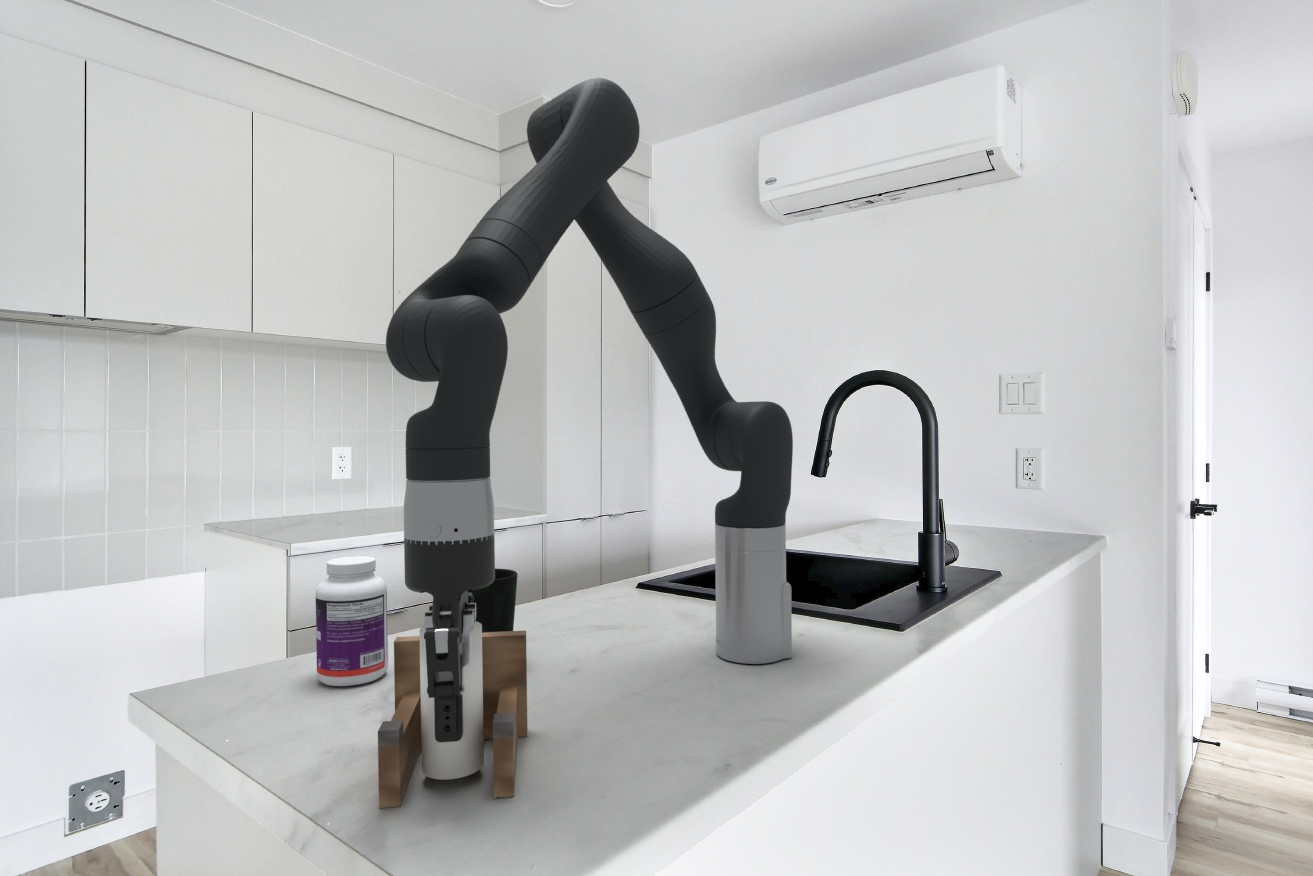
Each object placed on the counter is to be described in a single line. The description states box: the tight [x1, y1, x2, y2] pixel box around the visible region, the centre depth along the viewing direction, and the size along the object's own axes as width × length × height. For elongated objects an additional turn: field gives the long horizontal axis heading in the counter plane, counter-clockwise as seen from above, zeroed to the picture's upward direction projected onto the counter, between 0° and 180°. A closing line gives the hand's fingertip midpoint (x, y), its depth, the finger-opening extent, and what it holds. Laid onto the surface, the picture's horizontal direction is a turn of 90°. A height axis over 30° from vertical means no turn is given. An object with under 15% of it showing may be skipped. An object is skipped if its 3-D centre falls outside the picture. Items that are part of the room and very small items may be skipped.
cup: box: [468, 568, 518, 633], centre depth 94 cm, size 8×8×12 cm
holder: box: [377, 630, 528, 809], centre depth 68 cm, size 12×14×10 cm
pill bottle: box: [315, 555, 389, 687], centre depth 91 cm, size 8×8×14 cm
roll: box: [418, 621, 485, 781], centre depth 65 cm, size 5×5×12 cm
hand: (453, 725), depth 65 cm, fingers closed on roll, 5 cm apart
